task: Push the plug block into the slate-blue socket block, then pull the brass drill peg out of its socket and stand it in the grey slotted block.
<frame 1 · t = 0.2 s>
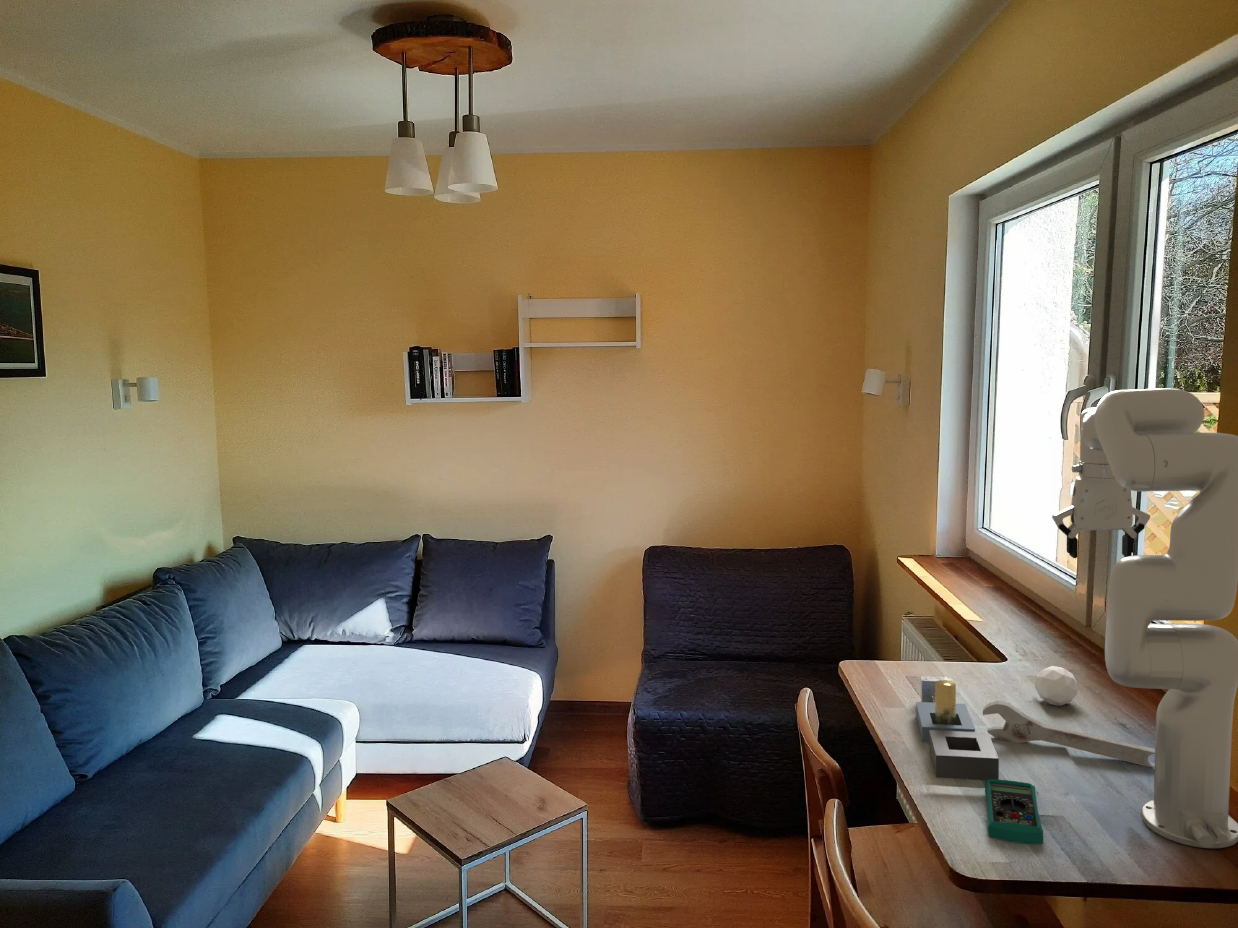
hand: (1099, 556, 173), 31 cm above the table, tool pointing down, fingers open, 9 cm apart
ball: (1056, 703, 179), on the table
socket block: (944, 734, 168), on the table
drill peg: (945, 733, 166), point 1 cm above the table, touching socket block
digital multimeter: (1012, 819, 139), on the table
wrench: (1070, 755, 158), on the table
plug block: (938, 698, 176), point 3 cm above the table, slide at 0.0 cm
grey slotted block: (962, 770, 154), on the table
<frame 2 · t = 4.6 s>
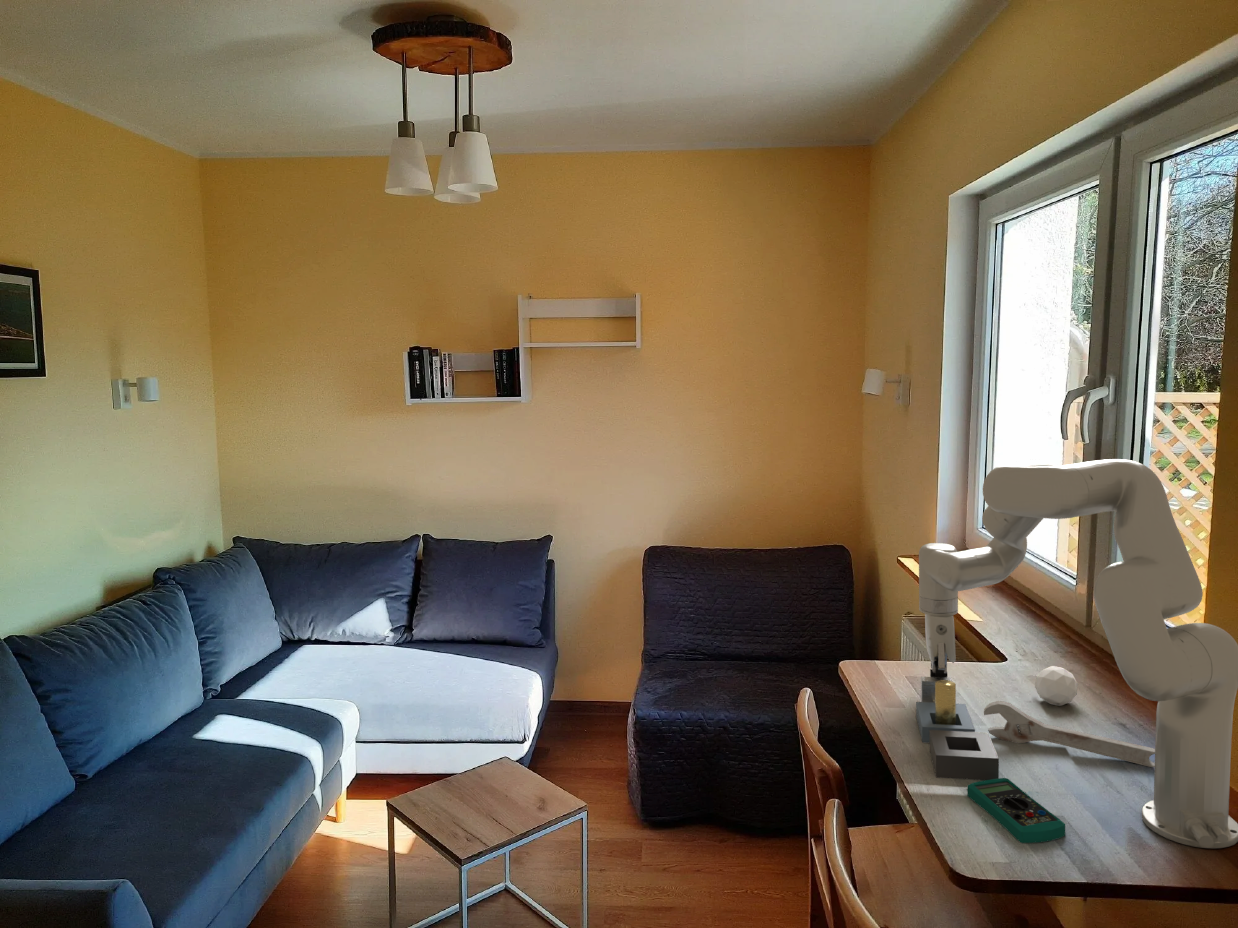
hand: (938, 688, 182), 3 cm above the table, tool pointing down, fingers closed
plug block: (938, 699, 176), point 3 cm above the table, slide at 0.3 cm, touching gripper
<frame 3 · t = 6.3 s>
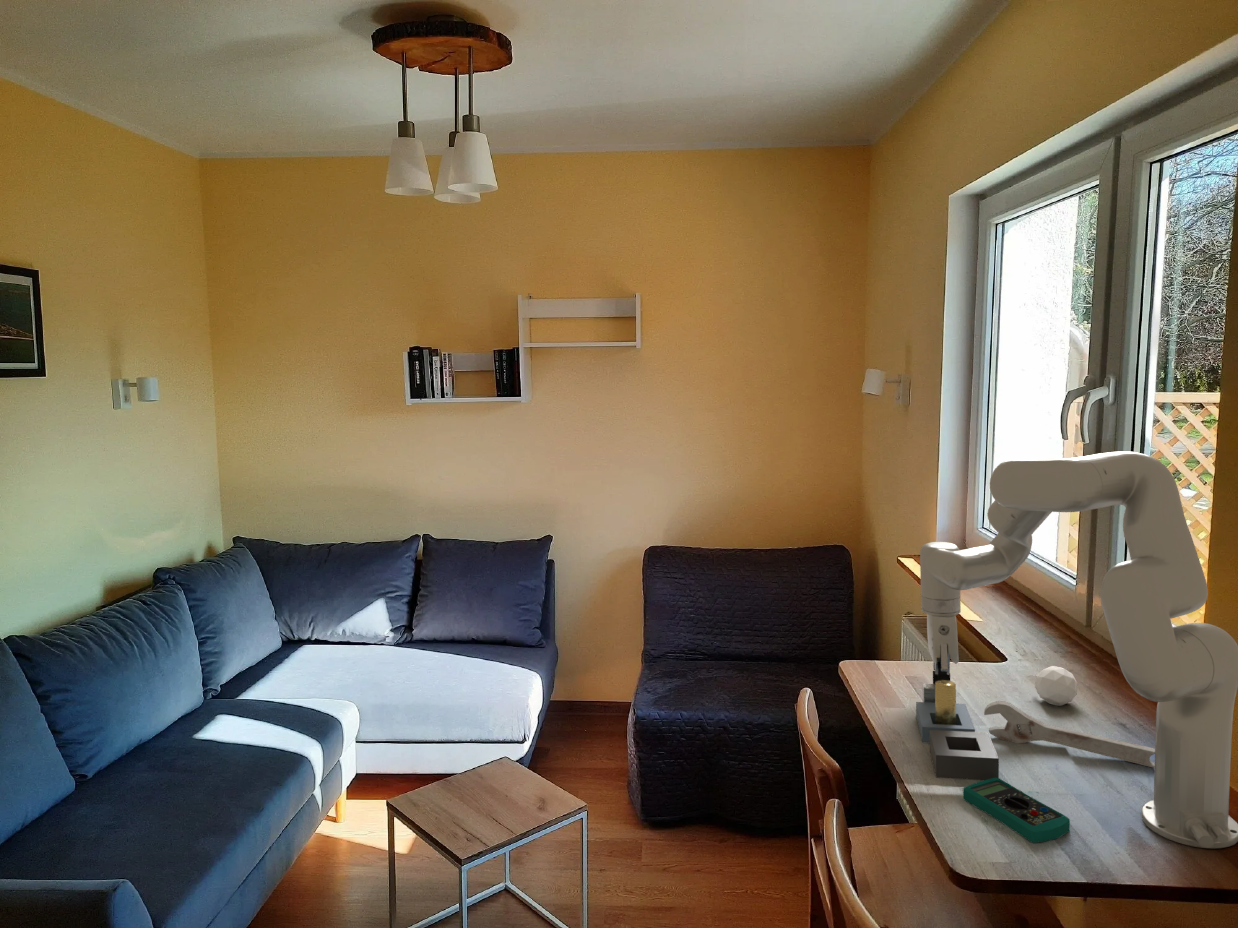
hand: (941, 690, 178), 4 cm above the table, tool pointing down, fingers closed
plug block: (941, 707, 172), point 3 cm above the table, slide at 4.0 cm
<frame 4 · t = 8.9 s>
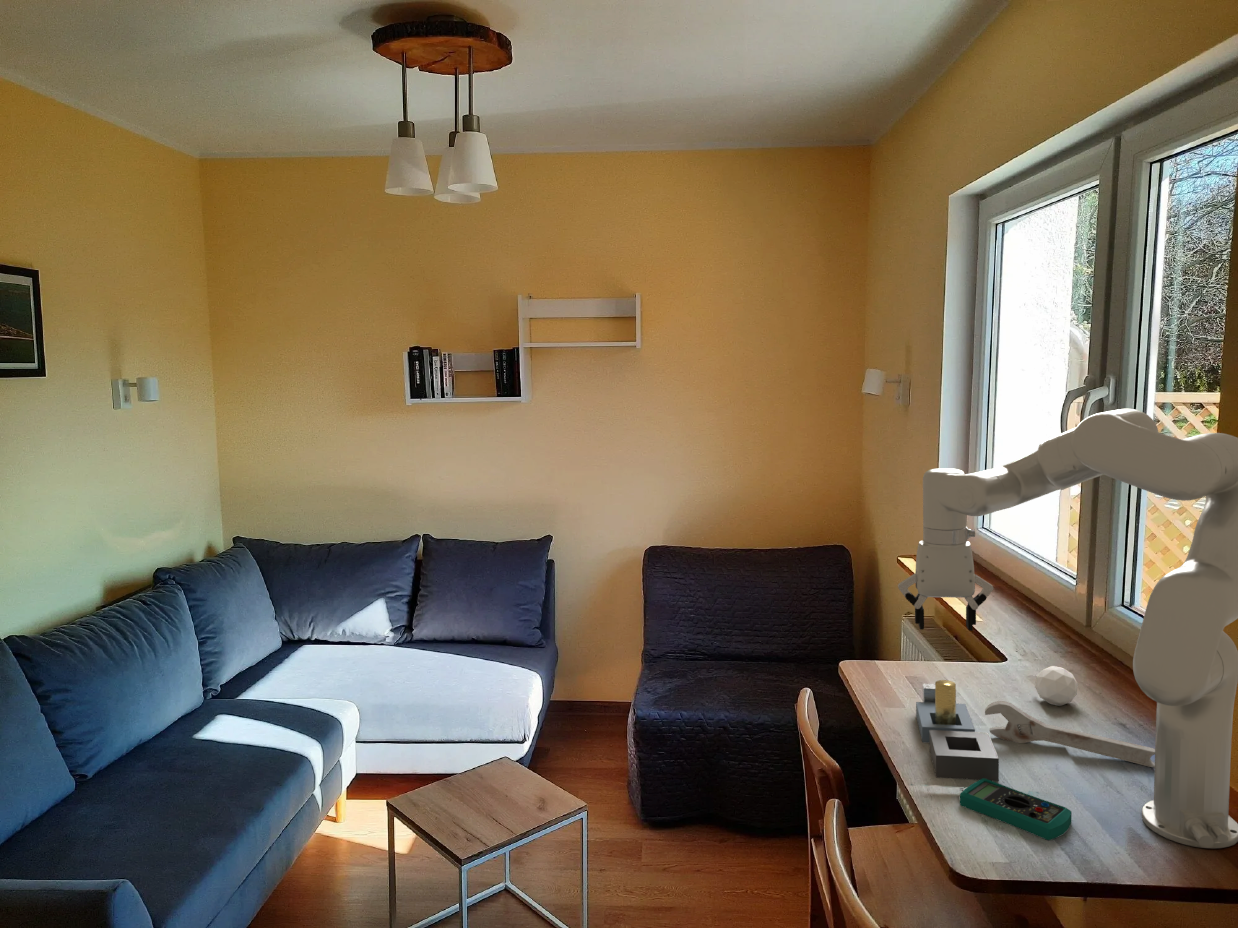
hand: (945, 627, 163), 22 cm above the table, tool pointing down, fingers open, 8 cm apart
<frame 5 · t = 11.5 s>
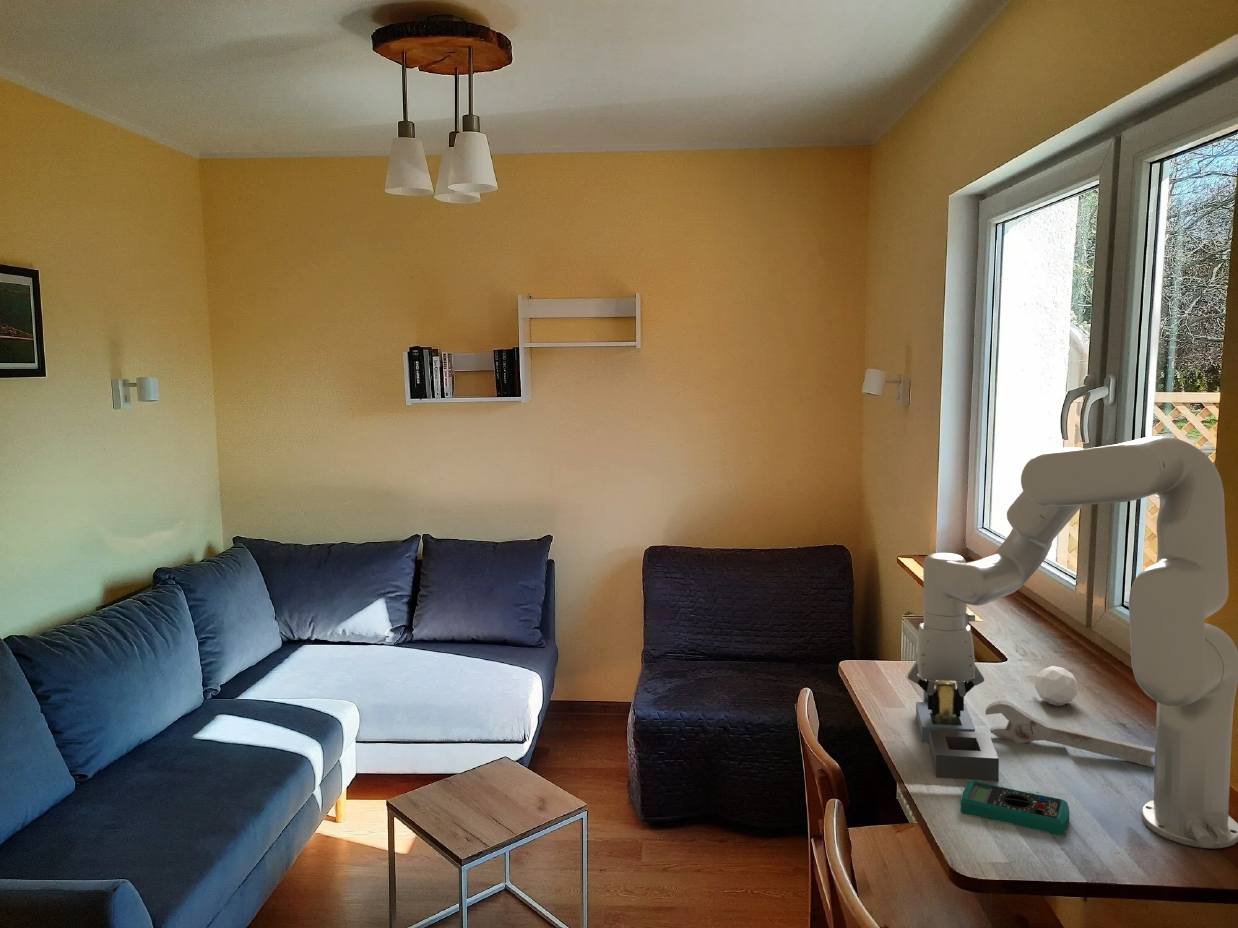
hand: (945, 712, 165), 5 cm above the table, tool pointing down, fingers closed on drill peg, 3 cm apart
drill peg: (945, 733, 166), point 1 cm above the table, touching gripper, socket block
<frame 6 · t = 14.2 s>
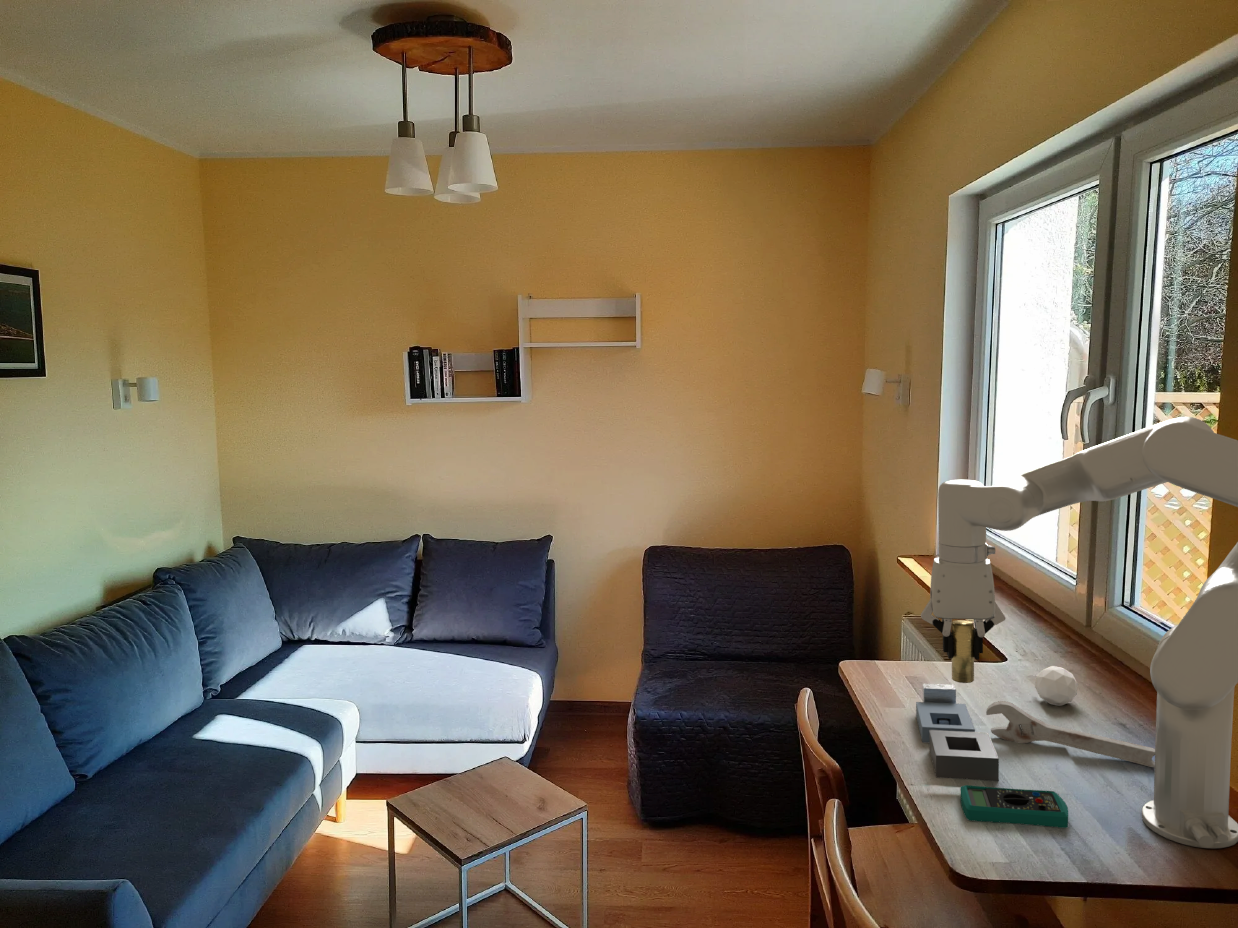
hand: (962, 655, 151), 21 cm above the table, tool pointing down, fingers closed on drill peg, 3 cm apart
drill peg: (962, 679, 152), point 17 cm above the table, touching gripper
when the fingers open (7 cm above the table, at t = 17.1 s): drill peg drops 1 cm, resting on grey slotted block.
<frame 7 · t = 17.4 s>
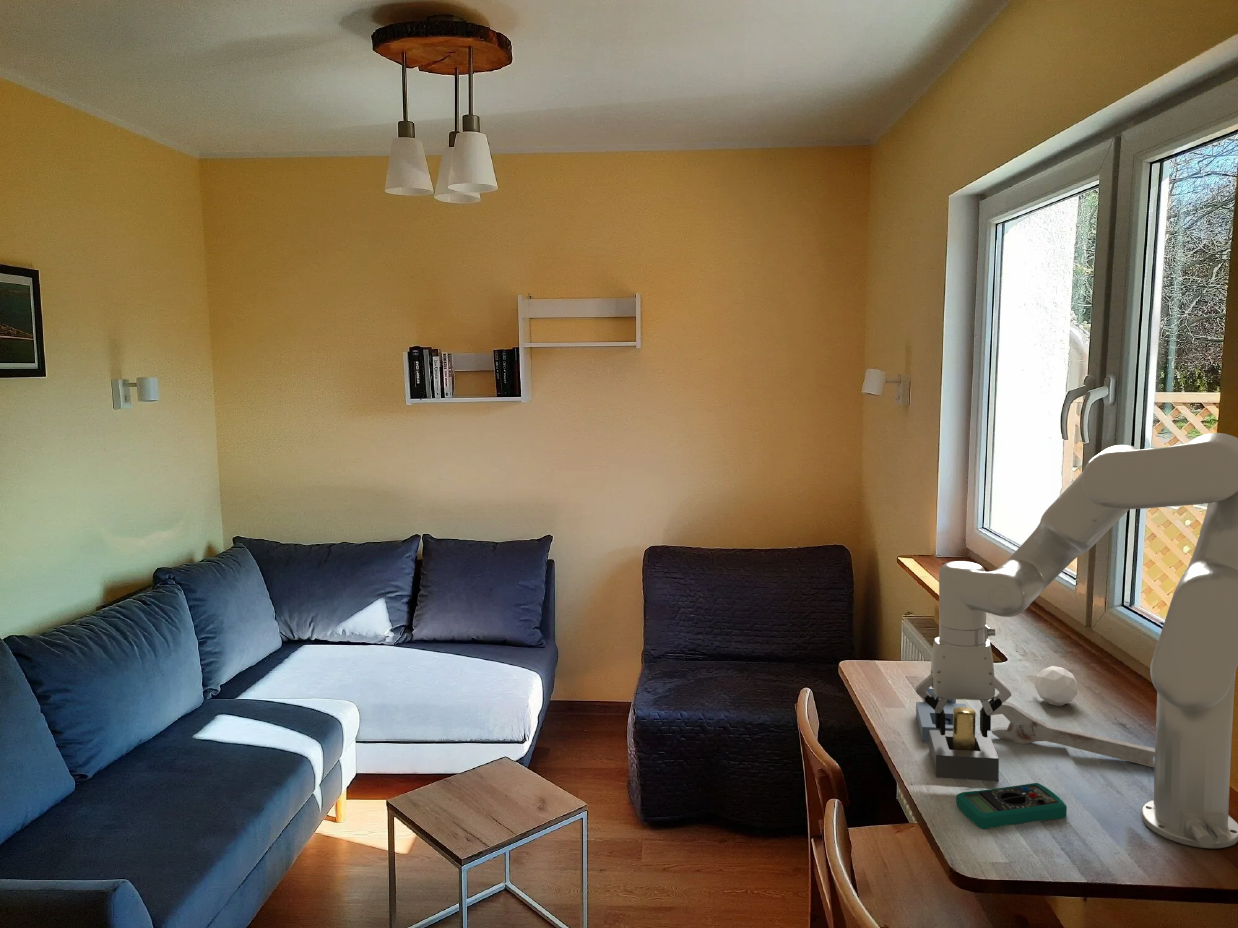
hand: (962, 732, 153), 7 cm above the table, tool pointing down, fingers open, 6 cm apart
drill peg: (963, 764, 154), point 1 cm above the table, touching grey slotted block
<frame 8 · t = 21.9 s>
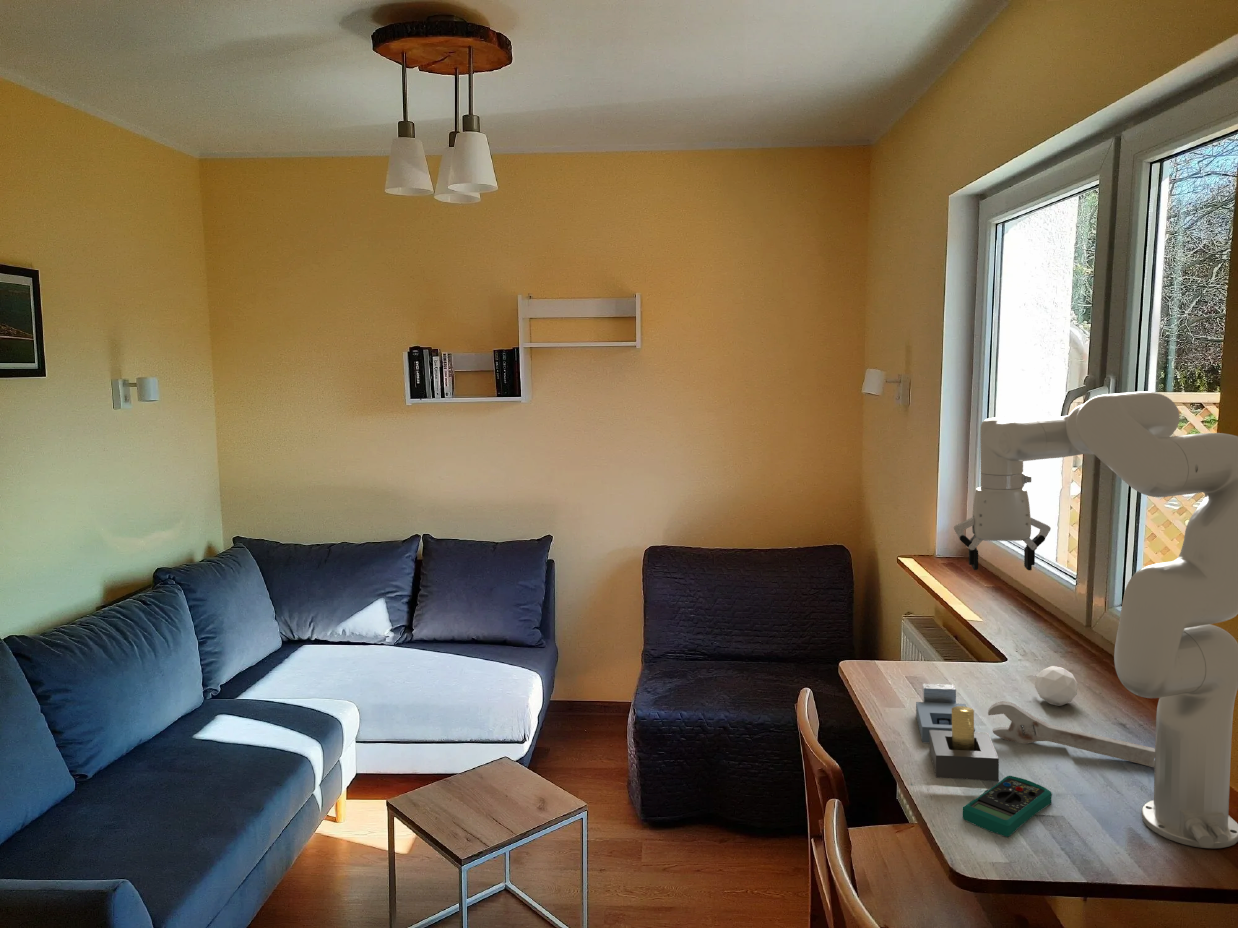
hand: (1001, 568, 170), 30 cm above the table, tool pointing down, fingers open, 9 cm apart
at the end: plug block slide at 4.0 cm; drill peg 0.1 cm off-centre on the grey slotted block, point 1.0 cm above the grey slotted block's base; drill peg tilted 2° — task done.
